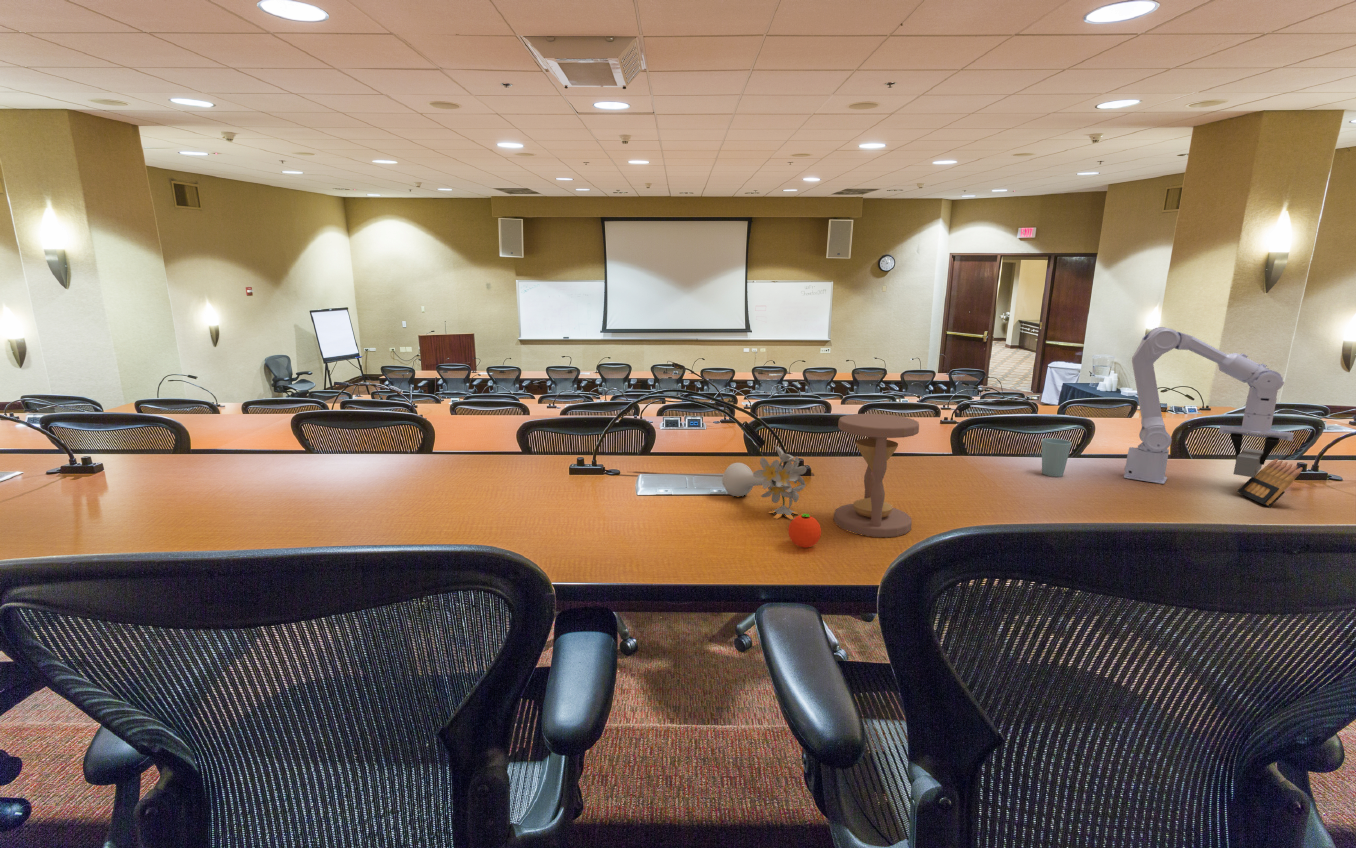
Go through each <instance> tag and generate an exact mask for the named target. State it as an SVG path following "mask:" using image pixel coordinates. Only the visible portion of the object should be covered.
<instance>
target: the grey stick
mask: <svg viewBox="0 0 1356 848" xmlns="http://www.w3.org/2000/svg"><path fill="white" fill-rule="evenodd" d="M1263 450H1264V449H1263ZM1263 450H1261V449H1254V448H1247V447H1246V448H1245V447H1244V449H1243V450H1242V451H1240V454H1239V455H1238V456H1237V459H1236V458H1235V465H1234V469H1233V475H1235V476H1242V477H1249V478H1251V477H1255V475H1256V474H1257V473H1258V472H1259V471H1260V470H1262V466H1263V465H1261V464H1260V461H1261V457H1262V454H1263Z"/></svg>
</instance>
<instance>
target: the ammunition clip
mask: <svg viewBox="0 0 1356 848" xmlns="http://www.w3.org/2000/svg"><path fill="white" fill-rule="evenodd" d="M1302 471H1303V467H1299V468H1298V465H1294V466H1293V463H1289V464H1288V461H1286V462H1284V461H1283V459H1281V460H1279V458H1275V459H1273V460H1272V461H1270V462H1269V463H1267V464H1266V466H1264V467H1263V468H1261V469H1260V470H1259V472H1258V473H1257V474H1256V475H1255V477H1249V479H1248V480H1247V481H1246V482H1244V484H1242V486H1240V487H1239V489H1238V490H1236V492H1237V493H1239V494H1240V495H1242V496H1243V497H1246V498H1248V499H1251V500H1252V501H1254V502H1256V503H1259V504H1260V505H1263V506H1265V507H1267V508H1269V509H1270V508H1271V507H1273V505H1274V504H1275V503H1276V502H1277V501H1278V500H1279V499H1280V498H1281V497H1282V496H1283V495H1284V494H1285V493H1286V490H1287V489H1288V487H1290V486H1291V485H1292V484H1293V482H1294V481H1295V480H1296V478H1297V477H1298V476H1299V475H1300V474H1301V473H1302Z"/></svg>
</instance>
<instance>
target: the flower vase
mask: <svg viewBox="0 0 1356 848" xmlns="http://www.w3.org/2000/svg"><path fill="white" fill-rule="evenodd" d="M774 448H775V450H776V452H777V454H778V456H779V457H778V458H779V460H780V461H779V460H778V459H775V460H773V461H772V462H771V463H769V461H768V460H767V459H766V458H765V457H761V458H760V460H759V464H760V467H761V469H757V470H755V471H752V469H751V468H750V467H749V466H748V465H747V464H745V463H743V462H733V463H731V464H730V465H728V467H727V468H726V469H725V471H724V472H723V474H722V479H721V482H722V485H723V487H724V489H725V490H726V492H727V493H728V494H729V495H731V496H732V497H734V496H742V497H745V496H747V495H749V494H750V492H751V491H752V490H753V488H754V487H756V486H762V489H765V490H766V489H767V491H766V492H764V493H763V494H762V495H761V497H762V498H769V497H771V501H772V503H774V504H776V503H778V502H779V501H780V499H781V498H782V506H779V507H778V508H776V509H773V510H774V511H775V512H776V513H777V514H783V515H784V514H786V515H791V514H792V512H795V511H794V510H792V509H790V508H791V506H792V504H793V501H794V503H797V502H798V501H799V498H800V494H799V493H800V492H801V491H803V490H804V489H805V487H806V486H807V484H806V482H805V480H804V478H803V477H802V475H804V474H806V472H807V467H806V466H804V465H801V466H799V463H800V460H799V457H798V456H793V455H791V454H788V453H785V452H784V450H783V449H782V448H780V447H779V446H776V445H774ZM784 462H785V465H784V466H783V467H782V464H783V463H784ZM792 463H793V464H792ZM791 482H793V483H794V484H795V485H797V483H799V485H797V486H795V487H792V483H791ZM744 495H745V496H744ZM785 498H789V501H788V502H789V503H788V507H787V506H786V501H785ZM776 513H775V514H776Z"/></svg>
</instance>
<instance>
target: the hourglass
mask: <svg viewBox="0 0 1356 848" xmlns="http://www.w3.org/2000/svg"><path fill="white" fill-rule="evenodd" d="M837 423H838V424H837V425H838V430H839V429H840V431H841V432H842V433H843V432H844V433H847V434H849V435H855V436H860V437H864V438H859V439H857V440H855V445H856V448H857V450H858V451H859V453H860V454H861V456H862V458H863V459H864V461H865V462H866V464H867V467H866V470H865V472H864V475H863V483H864V485H863V486H864V495H863V496H864V498H862V499H857V500H855V501H853V503H847V504H844V505H840V506H839V507H837V508H835V510H834V513H833V522H834V521H835V522H836V523H835V522H834V523H835V524H837V525H839V526H840V527H841V528H840V527H839V528H840V529H842V528H843V529H842V530H844V529H845V530H848V531H851V532H854V533H857V534H856V535H858V534H862V535H861V536H863V535H867V536H866V537H869V536H872V537H871V538H882V537H885V538H896V536H897V537H900V536H903V534H904V535H906V534H908V533H909V532H910V531H911V530H912V517H911V516H910V515H909V514H908V513H907V512H905V511H903V510H901V509H899V508H896V507H893V505H892V504H891V503H889V502H887V501H885V497H886V494H885V493H886V492H885V487H884V484H883V483H884V482H883V480H884V476H885V474H886V472H887V467H888V460H890V458H891V457H892V456H893V454H894V453H895V452H896V451H897V449H898V446H899V443H898V442H897V441H895V440H890V439H896V438H897V439H898V438H899V439H900V438H908V437H914V436H915V435H917V434H919V432H920V423H919V421H917V420H915V419H914V418H909V417H906V416H900V415H894V414H884V413H855V414H847V415H844V416H840V417H839V419H838V422H837ZM866 437H867V438H866ZM837 525H836V526H837ZM845 530H844V531H845ZM848 531H847V532H848ZM851 532H850V533H851ZM854 533H853V534H854ZM899 535H900V536H899Z"/></svg>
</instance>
